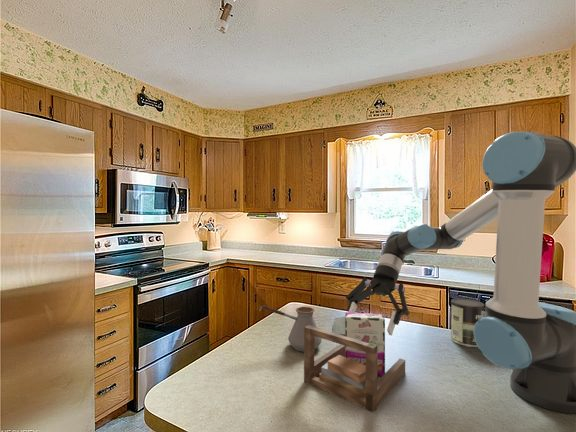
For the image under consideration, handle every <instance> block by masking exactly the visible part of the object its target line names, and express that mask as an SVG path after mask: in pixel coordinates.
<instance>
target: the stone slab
mask: <svg viewBox="0 0 576 432" xmlns="http://www.w3.org/2000/svg"><path fill="white" fill-rule="evenodd" d="M331 326H332V328H331V330H332V331H331V332H332V333H336V334H339V335H343V336H345V316H342V317H341V316H340V317H338V318H335V319H334V322H333V325H331Z"/></svg>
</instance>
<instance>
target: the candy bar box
mask: <svg viewBox="0 0 576 432" xmlns="http://www.w3.org/2000/svg"><path fill="white" fill-rule="evenodd" d="M344 317H345V336H346V337H349V338H353V339H356V340H359V341H363V342H366V343H371V344H374V345H378V350H377V377H382V376H383V375H384V374H385V373H386V322H385V321H386V319H385V317H384V314H383V313H371V312H370V313H368V312H355V313H349V312H348V311H347V312H345V315H344ZM345 357H346V358H348V359H350V360H353V361H355V362H358V363H360V364H363V365H365V366H366V352H363V351H360V350H357V349H354V348H351V347H348V346H345Z"/></svg>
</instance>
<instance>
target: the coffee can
mask: <svg viewBox="0 0 576 432" xmlns="http://www.w3.org/2000/svg"><path fill="white" fill-rule="evenodd" d="M450 303H451V311H450V313H451V314H450V315H451V320H450V321H451V322H450V327H451V328H450V339H451V341H452V342H453V343H456V344H458V345H460V346H464V347H469V348H478V346H477V344H476V342H475V339H474V326H475V324H476V322H477V321H479V320H480V319H481V318H482V317H485V303H483V302H481V301H479V300H474V299H470V298H469V299H468V298H453V299H451V300H450Z"/></svg>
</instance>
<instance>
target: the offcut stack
mask: <svg viewBox="0 0 576 432" xmlns="http://www.w3.org/2000/svg"><path fill="white" fill-rule="evenodd" d="M318 378H320V379H323V380H325V381H327V382H330V383H332V384H335V385H337V386H339V387H342V388H344V389H347V390H349V391H351V392H354V393H356V394H359V395H361V396H363V397H365V385H366V366H365V365H363V364H360V363H358V362H355V361H353V360H350V359H348V358H346V357H343V356H341V355H338V356H336V357H334V358H332V359H331V360H329V361H328V362H327V363H326V364H325V365H323V366H322V367H321V373H320V374H319V377H318Z"/></svg>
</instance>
